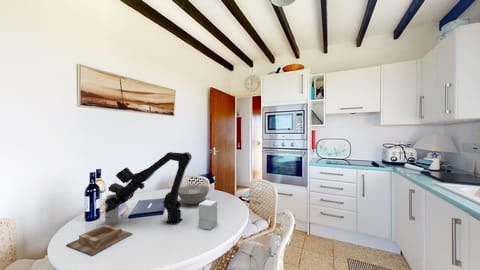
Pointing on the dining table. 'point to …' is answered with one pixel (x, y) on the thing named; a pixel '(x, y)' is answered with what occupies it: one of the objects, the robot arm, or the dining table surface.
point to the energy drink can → (111, 213)
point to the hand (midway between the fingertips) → (109, 209)
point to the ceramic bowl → (193, 193)
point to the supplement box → (207, 214)
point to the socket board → (94, 251)
